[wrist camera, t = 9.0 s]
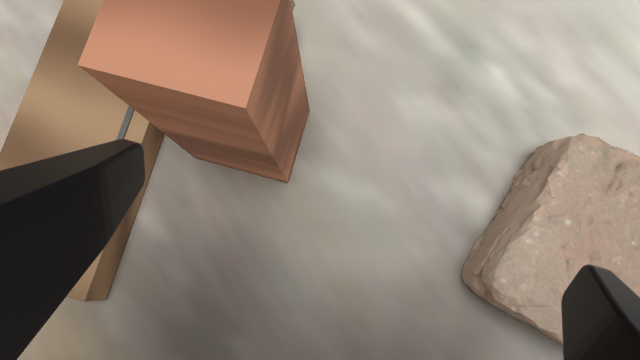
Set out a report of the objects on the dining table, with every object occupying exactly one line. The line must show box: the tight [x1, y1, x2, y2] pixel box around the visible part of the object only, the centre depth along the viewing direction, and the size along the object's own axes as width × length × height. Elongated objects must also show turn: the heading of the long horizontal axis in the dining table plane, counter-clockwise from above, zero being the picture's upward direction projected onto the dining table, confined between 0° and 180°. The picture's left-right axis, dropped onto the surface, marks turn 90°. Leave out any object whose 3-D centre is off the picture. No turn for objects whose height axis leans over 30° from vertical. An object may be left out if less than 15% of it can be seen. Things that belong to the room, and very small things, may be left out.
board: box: [0, 0, 164, 301], centre depth 24 cm, size 22×6×2 cm, turn 165°
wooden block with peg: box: [78, 0, 310, 183], centre depth 19 cm, size 8×5×11 cm, turn 164°
